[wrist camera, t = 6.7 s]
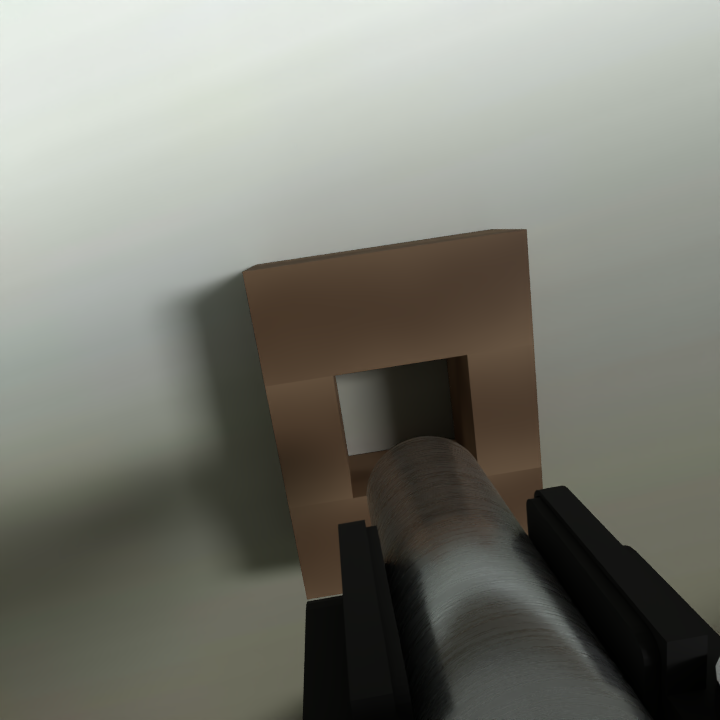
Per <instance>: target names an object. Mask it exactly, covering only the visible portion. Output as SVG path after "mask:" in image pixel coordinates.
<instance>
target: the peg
mask: <svg viewBox="0 0 720 720" xmlns="http://www.w3.org/2000/svg"><path fill="white" fill-rule="evenodd" d="M367 503H368V509H369V514H370V520H371V525H372V526H375V525H377V529H378V534H379V539H380V544H381V549H382V554H383V559H384V564H385V569H386V574H387V579H388V584H389V589H390V594H391V599H392V604H393V609H394V614H395V619H396V624H397V629H398V634H399V639H400V644H401V649H402V654H403V659H404V664H405V669H406V674H407V680H408V685H409V691H410V697H411V703H412V709H413V716H414V720H653V719H652V717H651V716H650V714H649V713H648V711H647V710H646V708H645V707H644V705H643V704H642V702H641V701H640V700H639V698H638V697H637V695H636V694H635V692H634V691H633V689H632V688H631V686H630V685H629V683H628V682H627V680H626V679H625V678H624V676H623V675H622V673H621V672H620V670H619V669H618V667H617V666H616V664H615V663H614V661H613V660H612V658H611V657H610V656H609V654H608V653H607V651H606V650H605V648H604V647H603V645H602V644H601V642H600V641H599V639H598V638H597V637H596V635H595V634H594V632H593V631H592V629H591V628H590V626H589V625H588V623H587V622H586V620H585V619H584V617H583V616H582V615H581V613H580V612H579V610H578V609H577V607H576V606H575V604H574V603H573V601H572V600H571V598H570V597H569V595H568V594H567V593H566V591H565V590H564V588H563V587H562V585H561V584H560V582H559V581H558V579H557V578H556V576H555V575H554V574H553V572H552V571H551V569H550V568H549V566H548V565H547V563H546V562H545V560H544V559H543V557H542V556H541V554H540V553H539V552H538V550H537V549H536V547H535V546H534V544H533V543H532V541H531V540H530V538H529V537H528V535H527V534H526V532H525V531H524V530H523V528H522V527H521V525H520V524H519V522H518V521H517V519H516V518H515V516H514V515H513V513H512V512H511V510H510V509H509V508H508V506H507V505H506V503H505V502H504V500H503V499H502V497H501V496H500V494H499V493H498V491H497V490H496V489H495V487H494V486H493V484H492V483H491V481H490V480H489V478H488V477H487V475H486V474H485V472H484V471H483V469H482V468H481V467H480V465H479V464H478V462H477V461H476V459H475V458H474V456H473V455H472V454H471V453H470V452H469V451H468V450H467V449H466V448H464V447H463V446H462V445H460V444H458V443H457V442H455V441H452V440H450V439H447V438H443V437H437V436H422V437H416V438H412V439H409V440H406V441H403V442H401V443H399V444H397V445H396V446H394V447H393V448H391V449H390V450H388V451H387V452H386V453H385V454H384V455H383V456H382V457H381V458H380V459H379V461H378V462H377V463H376V465H375V466H374V468H373V470H372V472H371V474H370V477H369V480H368V485H367Z"/></svg>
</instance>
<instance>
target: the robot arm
mask: <svg viewBox="0 0 720 720" xmlns="http://www.w3.org/2000/svg"><path fill="white" fill-rule="evenodd" d="M526 511H527V525H528V537H529V538H530V540H531V541H532V543H533V544H534V546H535V547H536V549H537V550H538V552H539V553H540V554H541V556H542V557H543V559H544V560H545V562H546V563H547V565H548V566H549V568H550V569H551V571H552V572H553V574H554V575H555V576H556V578H557V579H558V581H559V582H560V584H561V585H562V587H563V588H564V590H565V591H566V593H567V594H568V595H569V597H570V598H571V600H572V601H573V603H574V604H575V606H576V607H577V609H578V610H579V612H580V613H581V615H582V616H583V617H584V619H585V620H586V622H587V623H588V625H589V626H590V628H591V629H592V631H593V632H594V634H595V635H596V637H597V638H598V639H599V641H600V642H601V644H602V645H603V647H604V648H605V650H606V651H607V653H608V654H609V656H610V657H611V658H612V660H613V661H614V663H615V664H616V666H617V667H618V669H619V670H620V672H621V673H622V675H623V676H624V678H625V679H626V680H627V682H628V683H629V685H630V686H631V688H632V689H633V691H634V692H635V694H636V695H637V697H638V698H639V700H640V701H641V702H642V704H643V705H644V707H645V708H646V710H647V711H648V713H649V714H650V716H651V717H652V719H653V720H720V636H719V635H718V634H717V633H716V632H715V631H714V630H713V629H712V628H711V627H710V626H709V625H708V624H707V623H706V622H705V621H704V620H703V619H702V618H701V617H700V616H699V615H698V614H697V613H696V612H695V611H694V610H693V609H692V608H691V607H690V606H689V605H688V603H687V602H686V601H685V600H684V599H683V598H682V597H681V596H680V595H679V594H678V593H677V592H676V591H675V590H674V589H673V588H672V587H671V586H670V585H669V584H668V583H667V582H666V581H665V580H664V579H663V578H662V577H661V576H660V575H659V574H658V573H657V572H656V571H655V570H654V569H653V568H652V567H651V566H650V565H649V564H648V563H647V562H646V561H645V560H644V559H643V558H642V557H641V556H640V555H639V554H638V553H637V552H636V551H635V550H634V549H633V548H631V547H630V546H626V545H624V546H622V544H621V543H620V542H619V541H618V540H617V539H616V538H615V537H614V536H613V535H612V534H611V533H610V532H609V531H608V530H607V529H606V528H605V527H604V526H603V525H602V524H601V523H600V521H599V520H598V519H597V518H596V517H595V516H594V515H593V514H592V513H591V512H590V511H589V510H588V509H587V508H586V507H585V506H584V505H583V504H582V503H581V502H580V501H579V500H578V499H577V497H576V496H575V495H574V494H573V493H572V492H571V491H570V490H569V489H568V488H567V487H565V486H558V487H552V488H546V489H540V490H536V491H535V493H534V498H532V499H528V500H527V502H526ZM338 534H339V548H340V563H341V577H342V592H343V595H342V596H336V597H330V598H325V599H319V600H314V601H308V602H307V604H306V627H305V661H304V695H303V720H414V716H413V709H412V703H411V697H410V691H409V685H408V680H407V674H406V669H405V664H404V659H403V654H402V649H401V644H400V639H399V634H398V629H397V624H396V619H395V614H394V609H393V604H392V599H391V594H390V589H389V584H388V579H387V574H386V569H385V564H384V559H383V554H382V549H381V544H380V539H379V534H378V529H377V525H375V526H370V527H366V524H365V520H360V521H354V522H348V523H342V524H338Z"/></svg>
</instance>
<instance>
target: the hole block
mask: <svg viewBox="0 0 720 720" xmlns="http://www.w3.org/2000/svg"><path fill="white" fill-rule="evenodd" d="M242 273H243V278H244V283H245V288H246V293H247V298H248V303H249V308H250V313H251V318H252V323H253V328H254V334H255V339H256V344H257V349H258V354H259V359H260V364H261V369H262V374H263V379H264V384H265V389H266V394H267V399H268V404H269V409H270V414H271V419H272V424H273V429H274V434H275V440H276V445H277V450H278V455H279V460H280V465H281V470H282V475H283V480H284V485H285V490H286V495H287V500H288V505H289V510H290V515H291V520H292V525H293V530H294V535H295V541H296V546H297V551H298V556H299V561H300V566H301V571H302V576H303V581H304V586H305V591H306V596H307V599H312V598H318V597H324V596H330V595H336V594H342V593H343V592H342V577H341V563H340V548H339V534H338V524H342V523H348V522H354V521H360V520H365V524H366V527H370V526H372V525H371V520H370V514H369V509H368V503H367V485H368V480H369V477H370V474H371V472H372V470H373V468H374V466H375V465H376V463H377V462H378V461H379V459H380V458H381V457H382V456H383V455H384V454H385V453H386V452H387V451H388V450H384V451H378V452H371V453H365V454H359V455H353V456H348V451H347V445H346V438H345V432H344V426H343V420H342V414H341V408H340V401H339V395H338V389H337V383H336V377H335V375H342V374H348V373H354V372H361V371H367V370H374V369H380V368H386V367H393V366H399V365H405V364H412V363H418V362H425V361H431V360H437V359H444V358H446V359H447V368H448V377H449V387H450V396H451V406H452V415H453V425H454V434H455V439H452V441H455V442H457V443H458V444H460V445H462V446H463V447H464V448H466V449H467V450H468V451H469V452H470V453H471V454H472V455H473V456H474V458H475V459H476V461H477V462H478V464H479V465H480V467H481V468H482V469H483V471H484V472H485V474H486V475H487V477H488V478H489V480H490V481H491V483H492V484H493V486H494V487H495V489H496V490H497V491H498V493H499V494H500V496H501V497H502V499H503V500H504V502H505V503H506V505H507V506H508V508H509V509H510V510H511V512H512V513H513V515H514V516H515V518H516V519H517V521H518V522H519V524H520V525H521V527H522V528H523V530H524V531H525V532H526V534H527V535H528V525H527V511H526V502H527V500H528V499H532V498H534V493H535V491H536V490H540V489H543V485H542V469H541V453H540V437H539V421H538V405H537V389H536V373H535V357H534V340H533V324H532V308H531V292H530V276H529V260H528V244H527V229H491V230H484V231H477V232H471V233H464V234H457V235H451V236H444V237H437V238H431V239H424V240H417V241H411V242H404V243H397V244H391V245H384V246H377V247H371V248H364V249H357V250H351V251H344V252H337V253H331V254H324V255H317V256H311V257H304V258H297V259H291V260H284V261H277V262H271V263H264V264H257V265H255V266H253V267H251V268H249V269H247V270H245V271H243V272H242Z"/></svg>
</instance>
